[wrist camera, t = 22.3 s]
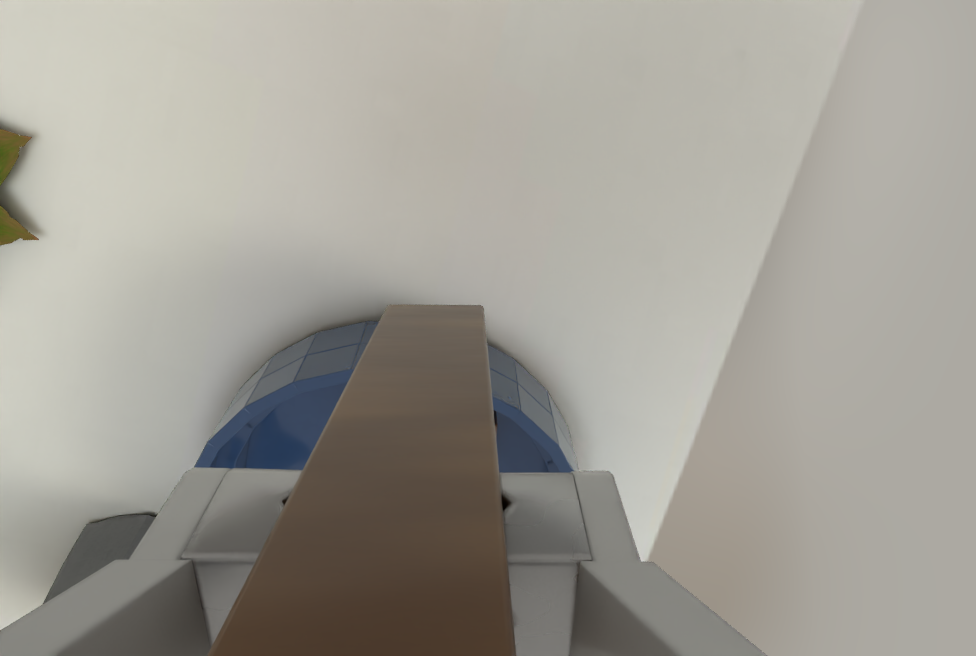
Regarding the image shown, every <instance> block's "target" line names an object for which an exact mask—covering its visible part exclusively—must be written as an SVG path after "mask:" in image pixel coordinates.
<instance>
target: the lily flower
mask: <svg viewBox="0 0 976 656" xmlns="http://www.w3.org/2000/svg"><path fill="white" fill-rule="evenodd" d="M31 138H32V137H28V136H21V135H20V136H19V135H18V134H15V133H12V132H9V131H6V130H3V129H0V186H1V184H2V183H3V182H4V180H5V179H6V177H7V176H8V174H9V173H10V171H11V169H12V167H13V166H14V164H15V162H16V160H17V158H18V157H19V153H18V152H19V151H20V150H19V149H20V147H21V146H22V147H23V146H25V144H26V143H27V142H28V141H29V140H30V139H31ZM19 238H22V239H23V240H39V239H38V238H36V237H35V236H34V235H32V234H31V233H28V231H27V230H26V229H25V228H24V227H23V226H22V225H21V224H20V223H19V222H18V221H16V220H15V219H13V218H11V217H10V216H9V213H8V212H7V211H6V210H5V209H4V208H3V207H2V206H0V245H4V244H9V243H12V242H14V240H15V241H16V240H17V239H19Z"/></svg>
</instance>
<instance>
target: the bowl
mask: <svg viewBox="0 0 976 656" xmlns="http://www.w3.org/2000/svg"><path fill="white" fill-rule="evenodd" d="M378 323H379V321H368V322H367V321H366V322H361V323H357V324H352V325H348V326H344V327H339V328H335V329H330V330H326V331H322V332H318V333H315V334H313V335H311V336H310V337H308V338H306V339H304V340H302V341H300V342H298V343H296V344H294V345H292V346H290V347H288V348H287V349H285V350H283V351H281V352H279V353H277V354H275V355H274V356H273V357H272V358H271V359H270V360H269V361H268V362H267V363H266V364H264V365H263V366H262V367H261V368H260V369H259V370H258V371H257V372H256V373H255V374H254V375H253V376H252V377H251V378H250V379H249V380H248V381H247V382H246V383H245V384H244V385H243V386H242V387H241V389H240V390H239V392H238V393H237V395H236V397H235V398H234V400H233V401H232V403H231V405H230V406H229V408H228V409H227V411H226V413H225V414H224V416H223V417H222V419H221V421H220V422H219V424H218V426H217V427H216V429H215V430H214V432H213V434H212V435H211V437H210V438H209V440H208V442H207V443H206V445H205V447H204V449H203V451H202V453H201V455H200V457H199V458H198V460H197V462H196V464H195V466H194V468H230V469H233V468H251V469H284V470H303V468H304V466H305V464H306V463H307V461H308V459H309V457H310V455H311V453H312V451H313V449H314V447H315V445H316V443H317V441H318V439H319V437H320V435H321V433H322V431H323V429H324V428H325V426H326V424H327V422H328V420H329V418H330V416H331V414H332V412H333V410H334V408H335V406H336V404H337V402H338V400H339V398H340V396H341V394H342V393H343V391H344V389H345V387H346V385H347V383H348V381H349V379H350V377H351V375H352V373H353V371H354V369H355V367H356V365H357V363H358V361H359V360H360V358H361V356H362V354H363V352H364V350H365V348H366V346H367V344H368V342H369V340H370V338H371V336H372V334H373V332H374V330H375V328H376V326H377V325H378ZM487 347H488V358H489V368H490V379H491V389H492V400H493V410H494V411H496V413H497V436H496V443H497V453H498V464H499V472H501V473H571V471H579V468H578V464H577V460H576V456H575V452H574V448H573V444H572V440H571V436H570V432H569V428H568V425H567V424H566V422H565V420H564V419H563V417H562V415H561V413H560V412H559V410H558V408H557V406H556V405H555V403H554V401H553V400H552V398H551V396H550V394H549V393H548V391H547V390H546V389H545V388H544V387H543V386H542V385H541V384H540V383H539V382H538V381H537V380H536V379H535V378H533V377H532V376H531V375H530V374H529V373H528V372H527V371H526V370H525V369H524V368H523V367H522V366H521V365H520V364H519V363H518V362H517V361H516V360H514V359H513V358H512V357H510V356H508V355H506V354H504V353H503V352H501V351H499V350H497V349H495V348H493V347H492V346H490V345H488V344H487Z"/></svg>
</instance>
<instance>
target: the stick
mask: <svg viewBox="0 0 976 656" xmlns="http://www.w3.org/2000/svg"><path fill="white" fill-rule="evenodd" d="M207 656H516V645H515V635H514V624H513V613H512V603H511V592H510V581H509V571H508V560H507V549H506V539H505V528H504V517H503V507H502V496H501V485H500V475H499V464H498V453H497V443H496V432H495V421H494V411H493V400H492V389H491V379H490V368H489V358H488V347H487V336H486V326H485V315H484V308H483V306H481V305H391V304H390V305H387V307H386V309H385V311H384V313H383V315H382V317H381V319H380V321H379V323H378V325H377V326H376V328H375V330H374V332H373V334H372V336H371V338H370V340H369V342H368V344H367V346H366V348H365V350H364V352H363V354H362V356H361V358H360V360H359V361H358V363H357V365H356V367H355V369H354V371H353V373H352V375H351V377H350V379H349V381H348V383H347V385H346V387H345V389H344V391H343V393H342V394H341V396H340V398H339V400H338V402H337V404H336V406H335V408H334V410H333V412H332V414H331V416H330V418H329V420H328V422H327V424H326V426H325V428H324V429H323V431H322V433H321V435H320V437H319V439H318V441H317V443H316V445H315V447H314V449H313V451H312V453H311V455H310V457H309V459H308V461H307V463H306V464H305V466H304V468H303V470H302V472H301V474H300V476H299V478H298V480H297V482H296V484H295V486H294V488H293V490H292V492H291V494H290V496H289V497H288V499H287V501H286V503H285V505H284V507H283V509H282V511H281V513H280V515H279V517H278V519H277V521H276V523H275V525H274V527H273V529H272V531H271V532H270V534H269V536H268V538H267V540H266V542H265V544H264V546H263V548H262V550H261V552H260V554H259V556H258V558H257V560H256V562H255V564H254V565H253V567H252V569H251V571H250V573H249V575H248V577H247V579H246V581H245V583H244V585H243V587H242V589H241V591H240V593H239V595H238V597H237V599H236V600H235V602H234V604H233V606H232V608H231V610H230V612H229V614H228V616H227V618H226V620H225V622H224V624H223V626H222V628H221V630H220V632H219V634H218V635H217V637H216V639H215V641H214V643H213V645H212V647H211V649H210V651H209V653H208V655H207Z"/></svg>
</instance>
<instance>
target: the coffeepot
mask: <svg viewBox="0 0 976 656" xmlns="http://www.w3.org/2000/svg"><path fill="white" fill-rule="evenodd" d="M155 518H156V517H152V516H149V515H123V516H117V517H113V518H108V519H105V520H103V521H101V522H97V523H90V524H86V526H85V528H84V529H83V531H82V533H81V534H80V536H79V538H78V539H77V541H76V543H75V544H74V546H73V548H72V549H71V551H70V553H69V554H68V556H67V558H66V559H65V561H64V563H63V565H62V567H61V569H60V571H59V573H58V575H57V577H56V579H55V581H54V583H53V585H52V587H51V589H50V591H49V593H48V595H47V597H46V599H45V601H44V603H46V602H48V601H49V600H51V599H53V598H54V597H56V596H57V595H59V594H61V593H62V592H64V591H66V590H67V589H69V588H70V587H72V586H74V585H75V584H77V583H79V582H80V581H82V580H83V579H85V578H87V577H88V576H90V575H92V574H93V573H95V572H97V571H98V570H100V569H101V568H103V567H105V566H106V565H108V564H110V563H111V562H113V561H114V560H129V558H130V557H131V555H132V554H133V552H134V551H135V549H136V548H137V546H138V544H139V543H140V541H141V540H142V538H143V537H144V535H145V534H146V532H147V530H148V529H149V527H150V526H151V524H152V523H153V521H154V519H155ZM44 603H43V604H44Z"/></svg>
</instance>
